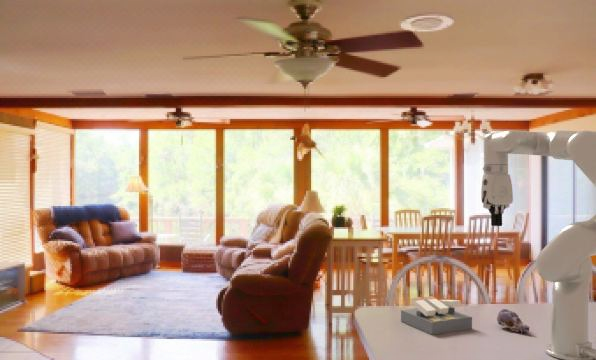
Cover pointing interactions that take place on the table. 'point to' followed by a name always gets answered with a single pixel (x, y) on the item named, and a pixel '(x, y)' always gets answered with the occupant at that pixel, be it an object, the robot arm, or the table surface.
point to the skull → (511, 321)
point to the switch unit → (437, 321)
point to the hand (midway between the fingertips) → (496, 225)
